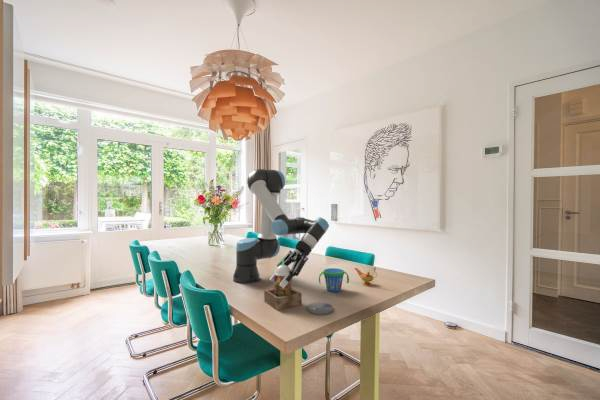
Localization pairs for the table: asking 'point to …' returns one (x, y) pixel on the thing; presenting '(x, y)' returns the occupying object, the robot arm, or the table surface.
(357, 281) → the table surface
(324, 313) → the slate coaster
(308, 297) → the table surface
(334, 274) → the snack cup
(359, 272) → the magic lamp
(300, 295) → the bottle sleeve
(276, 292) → the smoothie
